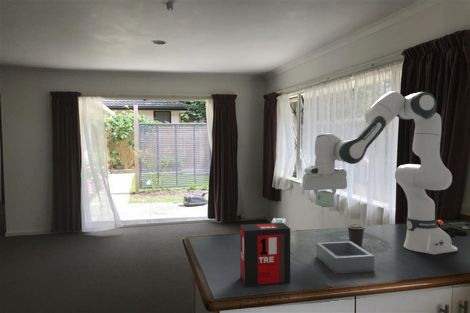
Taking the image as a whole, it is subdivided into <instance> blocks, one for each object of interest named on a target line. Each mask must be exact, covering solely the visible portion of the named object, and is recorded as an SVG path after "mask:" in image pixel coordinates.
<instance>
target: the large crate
mask: <svg viewBox="0 0 470 313" xmlns="http://www.w3.org/2000/svg"><path fill="white" fill-rule="evenodd" d="M315 257H316V258H317V259H318V260H319V261H321V263H323V264H324V265H325V266H326V267H327V268H328V269H330V271H332V272H333V273H334V274H347V273H348V274H349V273H365V272H375V255H374V254H372V253H370V252H369V251H368V250H366V249H364V248H362V247H359V246H358V245H356V244H354V243H353V242H351V241H349V240H347V241H345V240H344V241H331V242H327V241H326V242H316V244H315Z"/></svg>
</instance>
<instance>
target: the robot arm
mask: <svg viewBox="0 0 470 313" xmlns="http://www.w3.org/2000/svg"><path fill="white" fill-rule="evenodd" d="M437 110H438V109H437V101H436V99H435V97H434V95H433V94H432V93H431V92H427V91H419V92H416V93H411V94H409V95H406V96H403V95H402V94H401V93H400V92H398V91H395V90H394V91H393V90H392V91H388V92H387V93H385V94H384V95H382V96H381V97H379V99H377V100H376V101H375V102H374V103H373V104H372V105H371V106H370V107H369V108H368V109H367V111H366V113H365V114H364V115H365V116H364V118H365V122H366V124H367V125H366V127H365V128H364V129H363V130H362V131H361V132H360V133H359V134H358V136H356V137H355V138H353V139H350V140H349V139H348V140H347V139H346V140H345V139H342V138H340V137H338V136H336V135H335V134H334V133H332V132H326V133H322V134H321V133H320V134H319V135H317V136H316V138H315V140H314V141H315V142H314V155H315V160H314V164H313V165H311V166H307V167H305V168H304V174H303V177H302V185H301V188H302V189H303V190H304V191H313V194H314V195H315V201H316V200H320V196H319V195H318V194H317V192H318V191H320V190H327V191H329V190H331V192H332V193H334V196H335V194H336V193H337V190H346V189H347V188H348V181H347V175H348V174H347V173H348V172H347V170H346V169H345V168H336V167H335V166H336V161H339V162H344V163H347V164H351V165H355V164H357V163H361V161H362V160H363V158H364V156H365V154H366V152H367V150H368V148H369V147H370V145H372V143H373V142H375V140H376V139H377V138H378V137H379V135H380V134H381V133H382V132H383V131H384V129H385V128H386V127H387V125H389V124H390V123H391V122H392V121H393V120H394V119H395V117H397V118H398V119H401V120H406V121H407V120H412V119H413V121H414V127H415V128H414V134H413V141H412V152H413V153H414V154H415V155H416V156H418V157H419V160H420V164H418V163H416V164H414V163H407V164H406V163H405V164H401V165H399V166H398V167H397V168H396V169H395V171H394V179H395V181H396V183H397V184H398V185H399V186H400V187H401V189H403V191H404V193H405V197H406V200H407V201H406V202H407V217H406V228H407V229H406V235H405V241H404V244H403V247H404V248H405V249H407V250H410V251H413V252H419V253H425V254H430V255H438V254H445V253H446V254H447V253H453V252H458V251H459V250H458V247H457V246H455V245H453V244H452V238H451V236H450V235H449V234H448V233H447V232H446V231H444V230H443V229H441V227H439V225H440V226H442V225H443V224H444V221H443V220H441V219H437V218H436V216H435V215H436V204H435V201H434V200H433V199H432V198H431V197H429V196H428V194H427V193H426V190H428V191H429V190H430V191H442V190H446V189H448V188H449V187H450V186H451V185H452V182H453V175H452V172H451V171H450V169H449V168H447V167H446V166H445V164H444V163H443V160H442V158H441V151H440V150H441V138H442V116H441V115H440V114H439V113H437Z"/></svg>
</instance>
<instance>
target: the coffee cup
mask: <svg viewBox="0 0 470 313" xmlns="http://www.w3.org/2000/svg"><path fill="white" fill-rule="evenodd" d="M347 229H348V230H347V231H348V239H349V240H348V241H351V242H353V243H354V244H356V245H358V246H359V247H361V248H362V247H363V246H362V245H363V240H364V231H365V230H366V228H365V226H363V225H359V224H357V223H356V224H350V225H348V226H347Z"/></svg>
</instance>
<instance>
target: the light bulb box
mask: <svg viewBox="0 0 470 313" xmlns="http://www.w3.org/2000/svg"><path fill="white" fill-rule="evenodd" d="M270 223H284V224H285V225H286V226H287V218H280V217H279V218H278V217H273V219H272V220H271V222H270Z"/></svg>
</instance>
